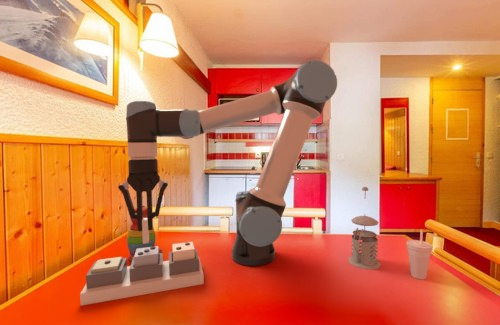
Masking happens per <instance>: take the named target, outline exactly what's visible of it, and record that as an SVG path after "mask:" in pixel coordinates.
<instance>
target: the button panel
mask: <svg viewBox="0 0 500 325" xmlns="http://www.w3.org/2000/svg"><path fill="white" fill-rule="evenodd" d="M194 249H195V259H188V260H181V261H174V262H173V251H169V252H168V260H164V254H163V252H162V253H159V264H154V265H147V266H140V267H134V257H133V259H132V262H131V263H130V265H128V262H127V261H128V257H122V263H121V266H120V268H119V270H112V271H105V272H98V273H92V269H93V267H94V265H95V264H96V262H97V261H94V262H93V264H92V266H91V267H90V269H89V270H88V272H87V273H86V275H85V285H84V286H83V289H82V290H81V292H80V293H79V296H80V297H79V298H80V306H86V305H93V304H98V303H103V302H109V301H115V300H119V299H120V300H122V299H125V298H131V297H132V298H133V297H136V296H137V297H138V296H143V295H148V294H154V293H159V292H164V291H165V292H166V291H171V290H177V289H184V288H188V287H194V286H200V285H204V284H205V282H204V278H205V276H204V272H203V271H204V270H203V267H202V264H201V260H200V257H199V254H198V251H197V248H195V247H194Z"/></svg>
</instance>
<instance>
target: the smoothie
mask: <svg viewBox="0 0 500 325" xmlns="http://www.w3.org/2000/svg"><path fill="white" fill-rule="evenodd" d="M423 231H424V229H422V228H421V229H420V231H419V232H420V235H419V236H420V237H419V240H418V239H408V240H407V241H406V247H407V252H408V262H409V270H410V276H411V277H413V278H414V279H417V280H426V279H427V275H428V269H429V265H430V264H429V263H430V258H431V253H432V251H433V249H434V247H433V245H432V244H431V243H430V242H427V241H424V240H423V239H424V238H423V237H424V236H423V235H424V232H423Z"/></svg>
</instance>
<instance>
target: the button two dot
mask: <svg viewBox="0 0 500 325" xmlns="http://www.w3.org/2000/svg"><path fill="white" fill-rule="evenodd" d="M172 252H173V262H174V261H181V260H188V259H195V246H194V242H193V241H188V242H179V243H172Z"/></svg>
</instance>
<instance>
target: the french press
mask: <svg viewBox="0 0 500 325" xmlns="http://www.w3.org/2000/svg"><path fill="white" fill-rule="evenodd" d="M361 191H363V192H364V198H366V197H367V195H366V194H367V193H366V192H367V191H369V187H367V186H363V187H362V188H361ZM351 223H352V224H355V225H358V226H362V227H363V228H362V229H359V228H358V227H357V228H356V229H355V230H353V231H352V233H353V234H352V235H351V256H350V257H349V258H348V262H349V264H351V265H352V266H354V267H356V268H358V269H364V270H377V269H379V268H381V265H382V264H381V262H379V260H378V249H379V248H378V247H379V246H378V244H379V242H378V241H379V239H378V238H377V235H378V234H377V233H376V232H374V231H371V230H366V227H373V226H374V227H375V226H377V225H378V224H379V221H378V220H377V219H375V218H374V217H371V216H367V215H359V216H355V217H353V218H352V219H351Z"/></svg>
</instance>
